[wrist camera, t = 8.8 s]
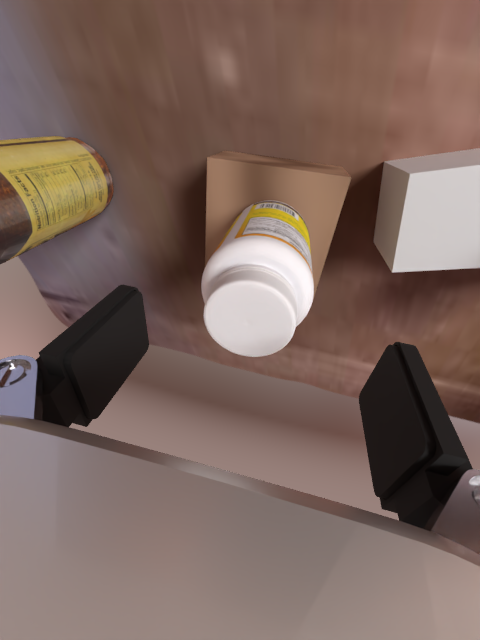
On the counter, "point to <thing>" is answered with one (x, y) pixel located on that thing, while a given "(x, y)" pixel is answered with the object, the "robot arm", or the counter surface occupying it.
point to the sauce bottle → (48, 190)
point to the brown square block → (274, 196)
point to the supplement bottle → (259, 280)
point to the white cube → (430, 212)
